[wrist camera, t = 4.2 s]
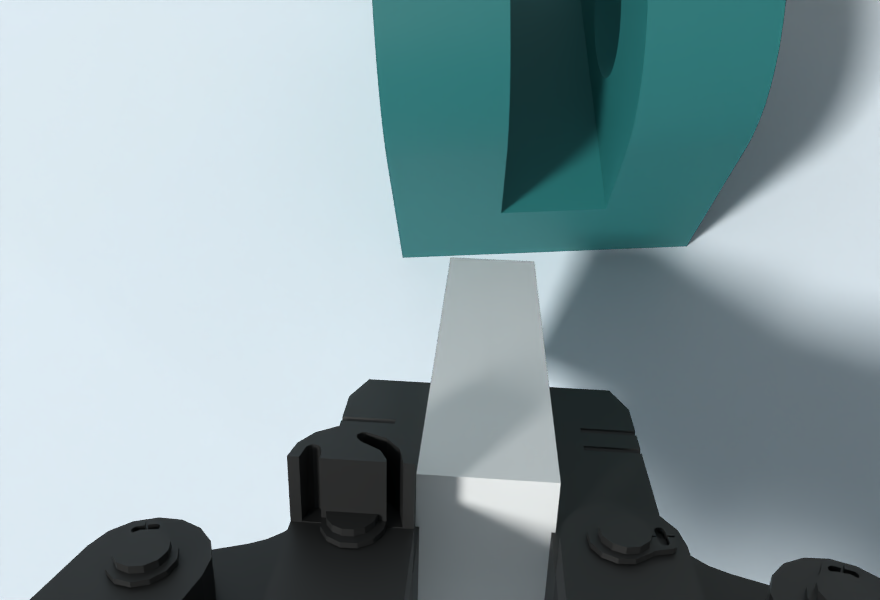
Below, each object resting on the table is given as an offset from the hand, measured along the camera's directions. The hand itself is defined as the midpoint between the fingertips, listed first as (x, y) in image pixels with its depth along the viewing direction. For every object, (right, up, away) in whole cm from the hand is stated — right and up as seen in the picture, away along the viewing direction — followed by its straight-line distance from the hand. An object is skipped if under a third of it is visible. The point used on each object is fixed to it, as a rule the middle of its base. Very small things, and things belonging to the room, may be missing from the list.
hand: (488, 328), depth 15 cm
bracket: (+1, +10, +8) cm, 13 cm away
